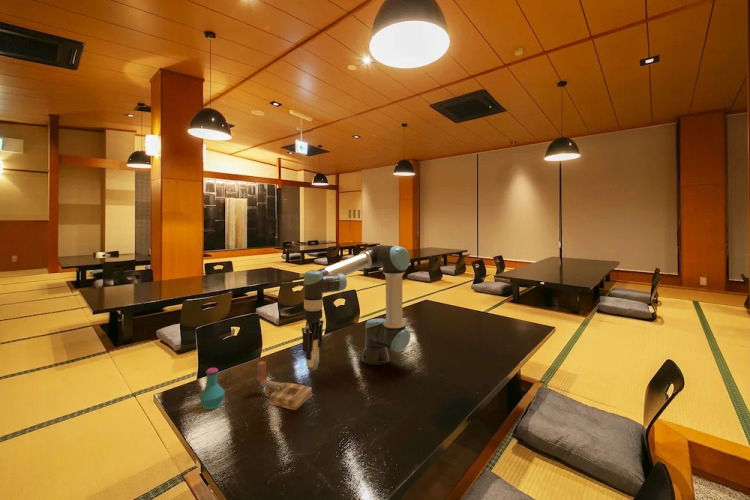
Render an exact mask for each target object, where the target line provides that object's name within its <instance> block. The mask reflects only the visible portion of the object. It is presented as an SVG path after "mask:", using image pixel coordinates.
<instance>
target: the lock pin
mask: <svg viewBox="0 0 750 500" xmlns="http://www.w3.org/2000/svg"><path fill="white" fill-rule="evenodd" d="M256 367H257V368H256V370H257V372H256V373H257V375H256V376H257V377H256V381H257V382H259V385H260V386H262V387H265V388H266V387H271V388H275V387H280V390H281V389H283V388H284V384H283V383H284V382H277V381H273V380H270V379H267V361H264V360H262V361H259V362H258V363H257V364H256Z"/></svg>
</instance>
